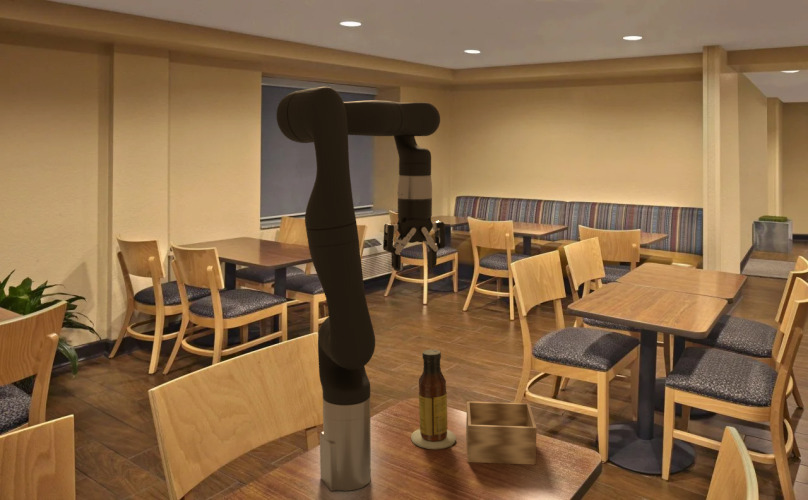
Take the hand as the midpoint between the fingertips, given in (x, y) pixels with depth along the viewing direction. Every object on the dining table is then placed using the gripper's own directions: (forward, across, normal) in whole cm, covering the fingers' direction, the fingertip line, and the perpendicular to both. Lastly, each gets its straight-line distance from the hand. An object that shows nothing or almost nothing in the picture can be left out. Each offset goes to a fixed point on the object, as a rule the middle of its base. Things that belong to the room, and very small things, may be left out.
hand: (414, 269), depth 144 cm
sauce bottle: (+38, +2, -6) cm, 38 cm away
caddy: (+38, +12, -16) cm, 43 cm away
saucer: (+38, +2, -6) cm, 39 cm away
